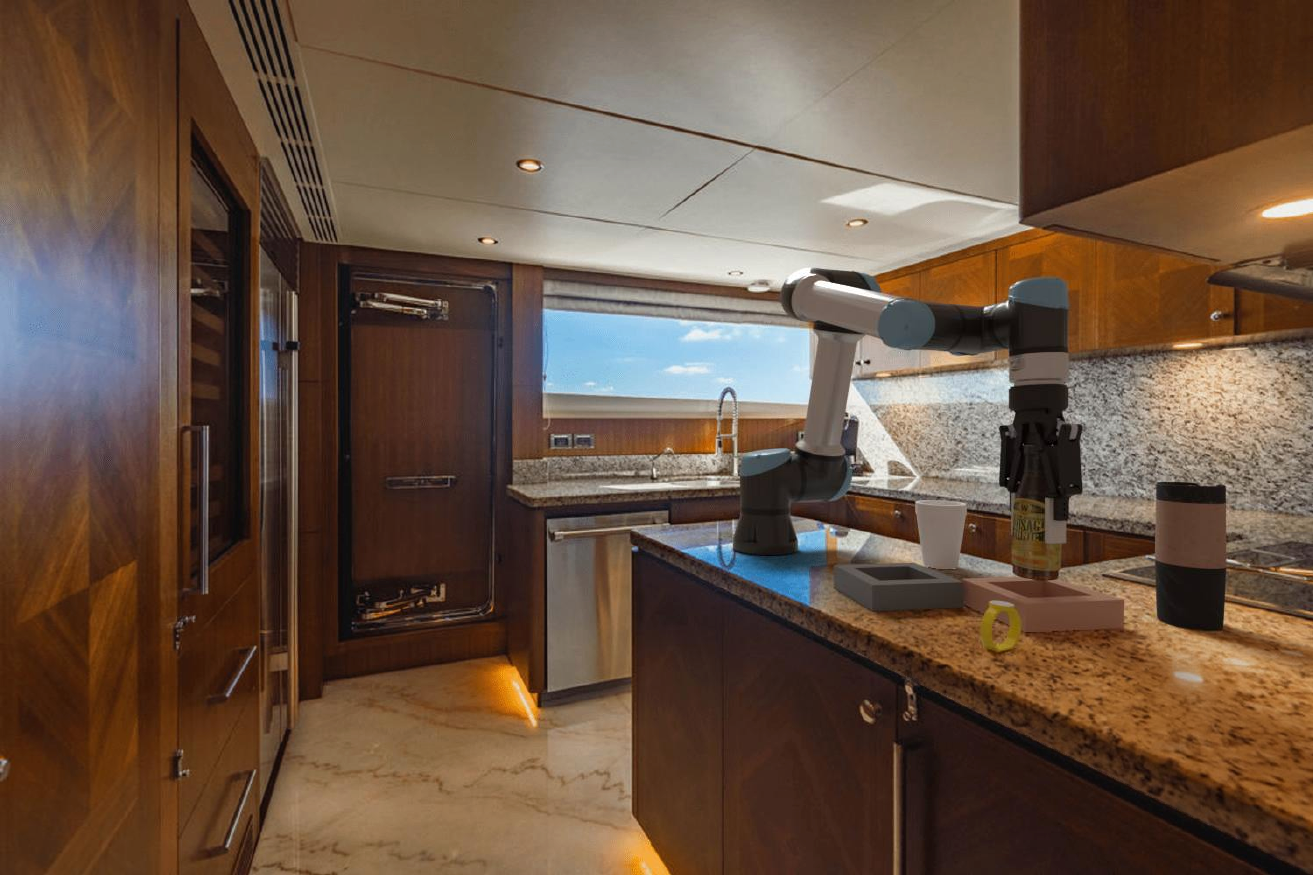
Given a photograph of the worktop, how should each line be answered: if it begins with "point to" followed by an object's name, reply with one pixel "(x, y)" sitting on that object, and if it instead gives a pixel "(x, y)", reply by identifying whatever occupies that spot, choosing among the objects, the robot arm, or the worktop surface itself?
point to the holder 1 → (898, 586)
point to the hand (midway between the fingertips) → (1037, 538)
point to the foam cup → (940, 532)
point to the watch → (989, 619)
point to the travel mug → (1190, 555)
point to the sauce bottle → (1033, 525)
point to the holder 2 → (1046, 603)
